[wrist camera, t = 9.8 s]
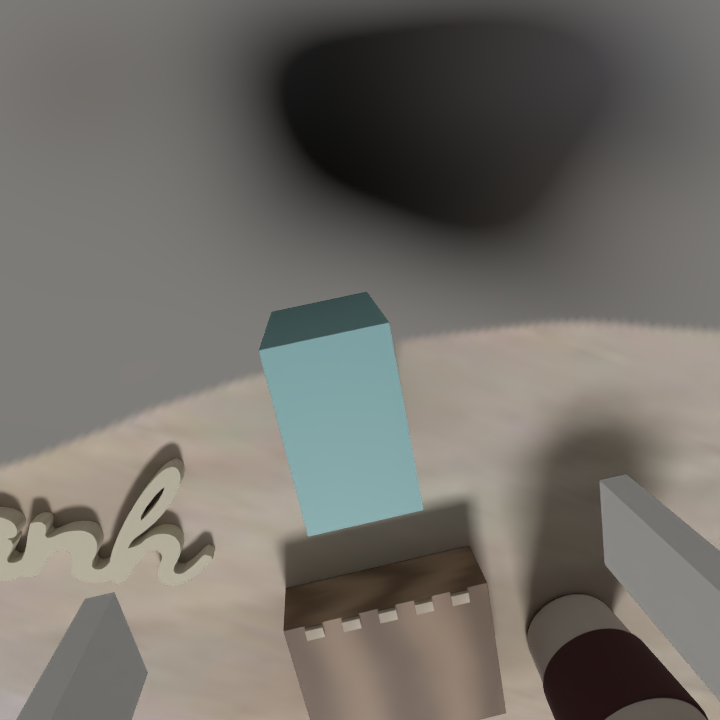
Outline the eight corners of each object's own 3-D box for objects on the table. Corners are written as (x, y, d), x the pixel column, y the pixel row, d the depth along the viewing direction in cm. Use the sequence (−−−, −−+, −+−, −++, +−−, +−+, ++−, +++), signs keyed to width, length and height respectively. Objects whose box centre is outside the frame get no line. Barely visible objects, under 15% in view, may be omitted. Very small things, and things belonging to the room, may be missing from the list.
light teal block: (366, 291, 32) (389, 322, 23) (394, 435, 35) (423, 510, 26) (271, 312, 32) (258, 350, 23) (307, 455, 35) (307, 536, 26)
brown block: (469, 545, 39) (488, 585, 34) (487, 667, 42) (507, 716, 38) (285, 588, 38) (283, 634, 34) (320, 708, 42) (322, 762, 37)
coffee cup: (484, 629, 41) (581, 855, 27) (584, 554, 40) (740, 748, 26) (553, 695, 44) (673, 932, 29) (647, 626, 43) (821, 837, 28)
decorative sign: (-156, 578, 33) (-176, 436, 30) (-136, 562, 35) (-154, 425, 32) (209, 596, 36) (219, 469, 34) (213, 580, 38) (223, 458, 35)
